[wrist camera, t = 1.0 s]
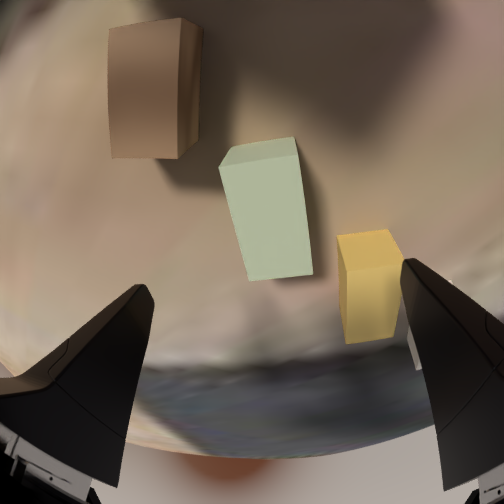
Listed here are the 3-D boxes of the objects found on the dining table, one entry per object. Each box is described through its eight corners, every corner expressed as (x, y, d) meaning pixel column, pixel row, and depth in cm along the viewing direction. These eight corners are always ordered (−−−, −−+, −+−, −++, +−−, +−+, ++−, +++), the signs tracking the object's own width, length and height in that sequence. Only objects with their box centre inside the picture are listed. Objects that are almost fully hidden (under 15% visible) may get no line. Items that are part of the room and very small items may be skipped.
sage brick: (231, 146, 14) (218, 167, 11) (293, 135, 14) (297, 154, 11) (254, 242, 17) (249, 281, 15) (308, 236, 17) (313, 274, 14)
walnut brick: (144, 34, 11) (109, 28, 8) (204, 29, 11) (181, 17, 8) (143, 139, 14) (112, 158, 11) (199, 139, 14) (177, 158, 11)
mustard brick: (336, 234, 17) (346, 271, 14) (386, 227, 16) (406, 262, 13) (339, 305, 20) (345, 344, 17) (381, 299, 19) (393, 336, 16)
